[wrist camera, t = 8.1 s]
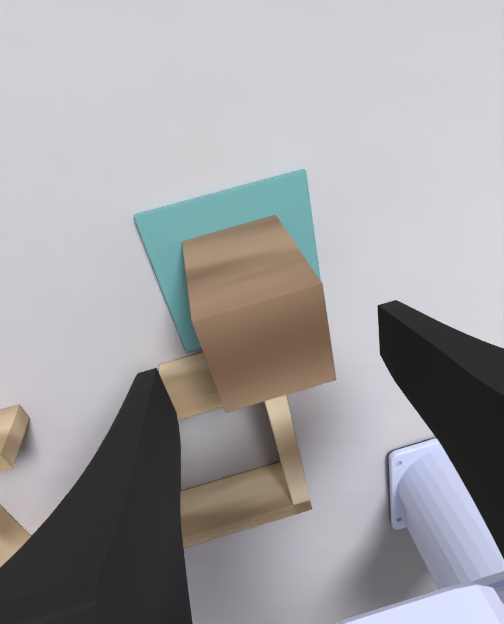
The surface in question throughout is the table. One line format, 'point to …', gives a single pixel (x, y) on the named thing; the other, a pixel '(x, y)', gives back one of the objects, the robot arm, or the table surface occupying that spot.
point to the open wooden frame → (205, 498)
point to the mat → (217, 216)
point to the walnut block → (257, 313)
